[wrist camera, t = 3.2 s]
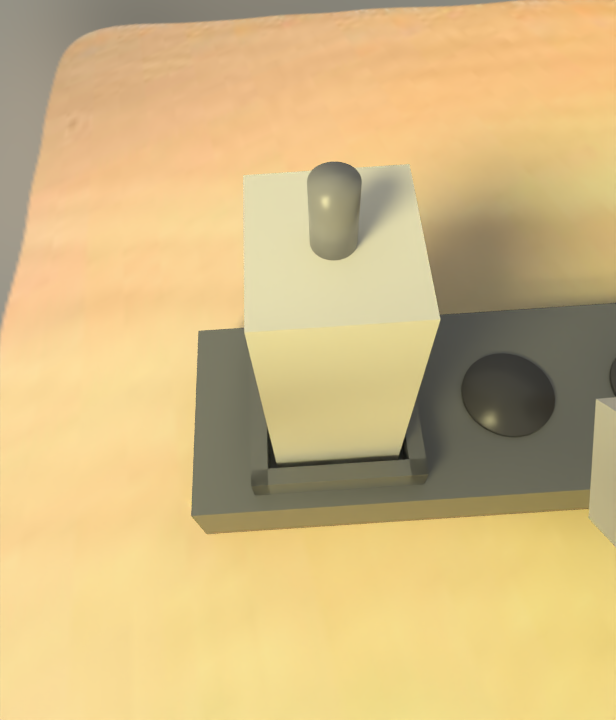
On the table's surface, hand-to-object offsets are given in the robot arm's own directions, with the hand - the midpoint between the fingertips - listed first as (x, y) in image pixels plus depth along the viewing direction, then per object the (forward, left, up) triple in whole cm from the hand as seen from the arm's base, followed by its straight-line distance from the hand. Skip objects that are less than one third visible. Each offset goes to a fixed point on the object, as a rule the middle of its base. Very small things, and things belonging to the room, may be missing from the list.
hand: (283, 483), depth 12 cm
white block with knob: (-2, -6, -10) cm, 11 cm away
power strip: (-8, -6, -13) cm, 16 cm away
